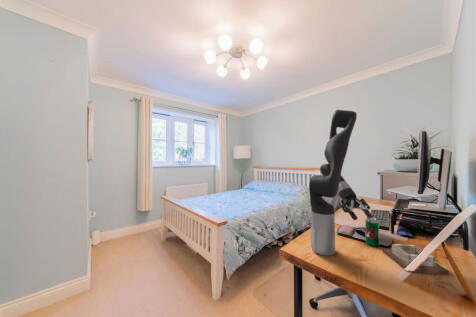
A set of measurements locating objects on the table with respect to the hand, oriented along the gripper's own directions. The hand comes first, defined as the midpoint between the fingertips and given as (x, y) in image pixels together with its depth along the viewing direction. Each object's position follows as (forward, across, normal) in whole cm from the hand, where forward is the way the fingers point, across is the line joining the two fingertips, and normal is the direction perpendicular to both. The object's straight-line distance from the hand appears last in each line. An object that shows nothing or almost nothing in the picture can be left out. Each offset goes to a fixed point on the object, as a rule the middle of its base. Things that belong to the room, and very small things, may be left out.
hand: (363, 218), depth 87 cm
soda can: (+11, 0, +4) cm, 12 cm away
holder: (+21, +2, -6) cm, 22 cm away
